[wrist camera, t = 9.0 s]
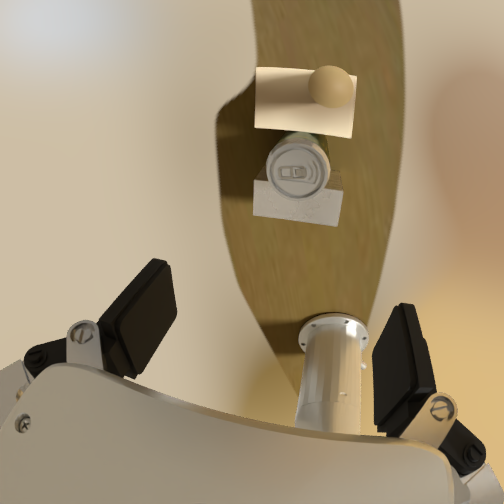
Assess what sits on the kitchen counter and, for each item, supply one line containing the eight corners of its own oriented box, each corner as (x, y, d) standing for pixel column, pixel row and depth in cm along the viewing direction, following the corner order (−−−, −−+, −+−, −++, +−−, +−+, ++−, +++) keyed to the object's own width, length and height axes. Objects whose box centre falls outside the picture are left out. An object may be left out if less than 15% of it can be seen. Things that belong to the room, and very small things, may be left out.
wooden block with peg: (344, 128, 29) (361, 155, 18) (267, 119, 30) (233, 141, 19) (349, 79, 26) (369, 72, 14) (269, 71, 27) (233, 60, 16)
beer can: (284, 165, 34) (266, 204, 24) (280, 123, 31) (260, 141, 21) (328, 165, 32) (331, 204, 22) (326, 122, 29) (329, 139, 20)
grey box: (335, 201, 34) (337, 226, 29) (265, 191, 36) (253, 215, 30) (339, 171, 32) (343, 191, 26) (266, 162, 34) (253, 179, 28)
